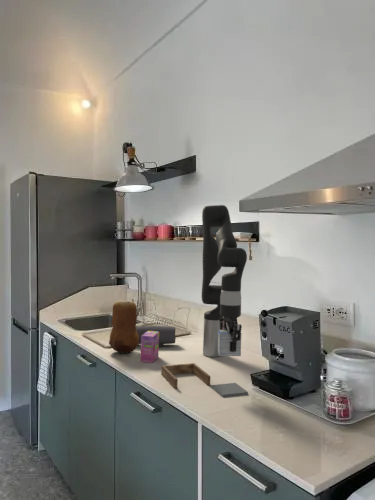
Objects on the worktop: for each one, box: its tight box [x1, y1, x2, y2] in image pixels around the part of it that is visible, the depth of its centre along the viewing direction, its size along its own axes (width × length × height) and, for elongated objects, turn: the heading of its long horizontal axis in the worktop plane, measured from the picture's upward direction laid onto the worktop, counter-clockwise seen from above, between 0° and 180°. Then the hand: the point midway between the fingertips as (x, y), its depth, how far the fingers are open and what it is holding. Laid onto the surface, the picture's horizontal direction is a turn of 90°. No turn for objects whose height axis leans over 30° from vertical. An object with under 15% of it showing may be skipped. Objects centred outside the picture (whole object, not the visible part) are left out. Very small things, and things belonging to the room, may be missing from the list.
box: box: [139, 331, 160, 364], centre depth 187 cm, size 10×6×12 cm, turn 168°
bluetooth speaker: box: [136, 325, 177, 347], centre depth 212 cm, size 23×9×10 cm, turn 95°
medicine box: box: [218, 330, 242, 357], centre depth 150 cm, size 8×4×9 cm, turn 92°
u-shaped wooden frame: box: [160, 362, 211, 390], centre depth 160 cm, size 14×17×4 cm
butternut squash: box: [108, 299, 140, 354], centre depth 197 cm, size 14×13×25 cm
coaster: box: [210, 382, 249, 398], centre depth 150 cm, size 10×10×1 cm
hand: (229, 349), depth 150 cm, fingers closed on medicine box, 5 cm apart
